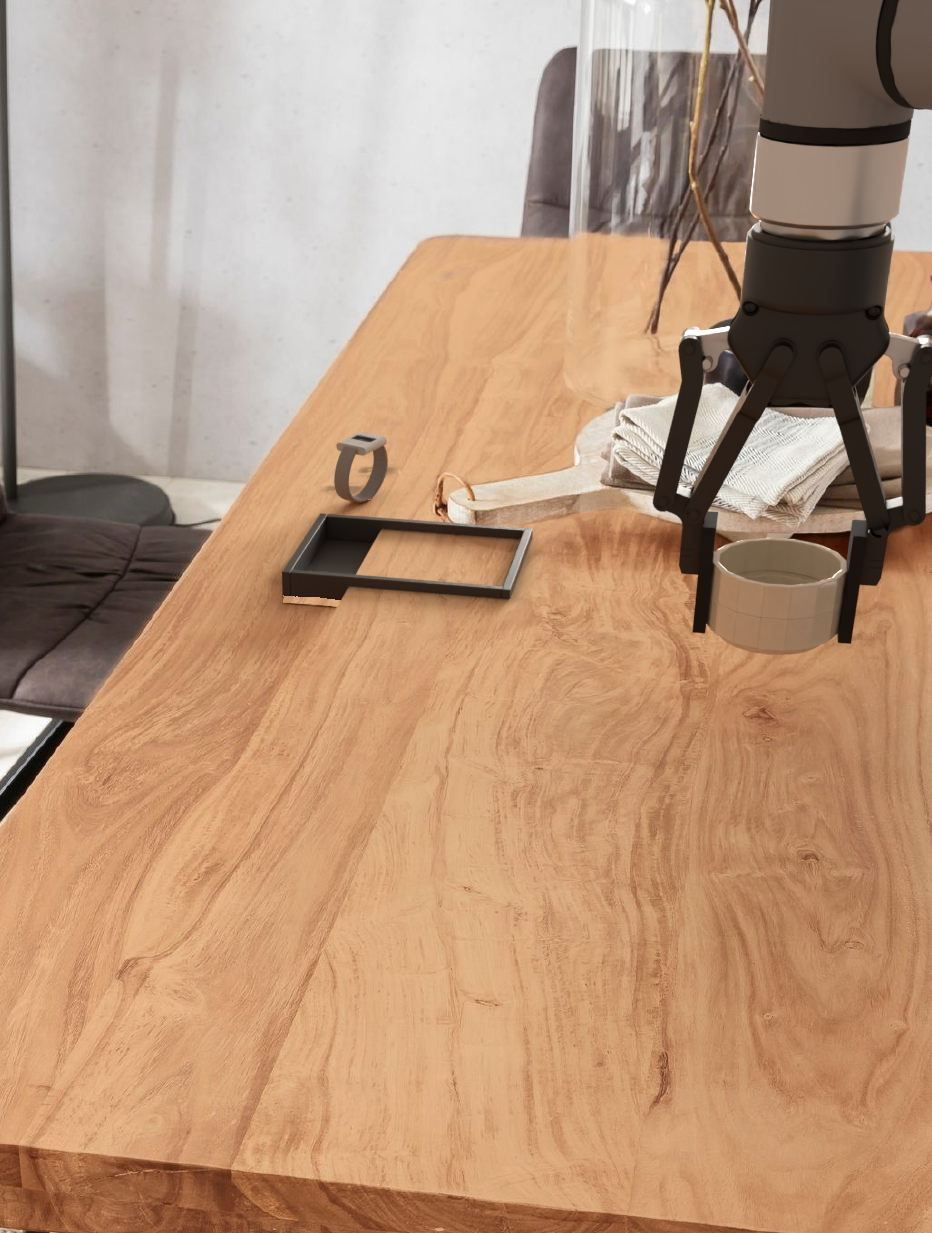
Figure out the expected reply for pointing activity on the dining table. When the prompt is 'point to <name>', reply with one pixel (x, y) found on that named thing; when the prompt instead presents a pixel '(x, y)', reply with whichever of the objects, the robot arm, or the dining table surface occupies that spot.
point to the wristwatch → (349, 448)
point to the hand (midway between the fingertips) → (771, 628)
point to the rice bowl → (776, 595)
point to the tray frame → (347, 539)
